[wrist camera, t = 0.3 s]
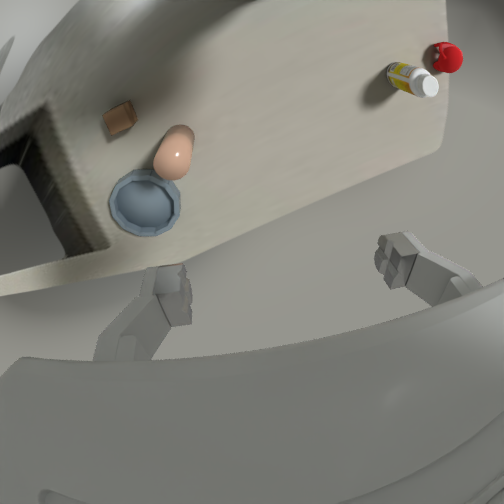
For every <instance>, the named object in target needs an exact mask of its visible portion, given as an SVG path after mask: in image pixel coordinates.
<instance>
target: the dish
mask: <svg viewBox="0 0 504 504" xmlns="http://www.w3.org/2000/svg"><path fill="white" fill-rule="evenodd" d="M109 203H110V208H111V212H112V216H113V218H114V219H115V220H116V221H117V223H118V224H119V225H120V226H121V227H122V228H123V229H124V230H126V231H129V232H131V233H133V234H135V235H138V236H139V235H140V236H158V235H160V234H162V233H164V232H166V231H168V230H170V229H171V228H172V227H173V225H174V224H175V222H176V221H177V219H178V217H179V215H180V209H181V204H180V192H179V190H178V189H177V187H176V186H175V184H174V183H173V181H172V180H166V179H164V178H162V177H160V176H159V175H158V174H157V173H156V171H155V170H152V169H143V170H133V171H131V172H130V173H128V174H126V175H125V176H123V177H122V178H120V179H119V180H118V182H117V184H116V186H115V188H114V190H113V193H112V195H111V197H110V200H109Z"/></svg>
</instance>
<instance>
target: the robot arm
mask: <svg viewBox="0 0 504 504" xmlns="http://www.w3.org/2000/svg"><path fill="white" fill-rule="evenodd" d="M378 245H379V248H378V249H377V250H376V252H375V257H374V260H375V265H376V268H377V270H378V271H379V272H380V273H381V274H383V275H384V281H385V282H386V284H387V285H388V287H389V288H390V289H395V288H400V287H404V286H406V288H407V289H409V290H410V291H412V292H413V293H414V294H416V295H417V296H418V297H420V298H421V299H423V300H424V301H425V302H427V303H428V304H430V305H431V306H432V307H431V308H428V309H425V310H422V311H419V312H416V313H413V314H409V315H406V316H404V317H400V318H396V319H393V320H390V321H386V322H383V323H380V324H376V325H372V326H369V327H365V328H361V329H357V330H353V331H349V332H345V333H341V334H337V335H332V336H328V337H323V338H319V339H314V340H310V341H305V342H300V343H294V344H288V345H283V346H277V347H272V348H265V349H259V350H252V351H245V352H238V353H230V354H222V355H213V356H203V357H193V358H181V359H166V360H151V358H152V357H153V355H154V354H155V352H156V351H157V349H158V347H159V346H160V344H161V343H162V341H163V340H164V338H165V337H166V335H167V334H168V332H169V331H170V329H171V327H174V326H182V325H190V324H192V309H191V307H190V305H191V303H192V289H191V284H190V281H189V279H188V278H186V272H187V271H186V268H185V265H184V264H183V263H180V264H172V265H163V266H156V267H148V268H147V269H146V270H145V274H144V278H143V282H142V286H141V290H140V295H139V297H136V298H134V300H132V302H131V303H130V304H129V305H128V306H127V307H126V308H125V309H124V310H123V311H122V312H121V313H120V314H119V315H118V316H117V317H116V318H115V319H114V320H113V321H112V322H111V323H110V324H109V325H108V327H107V328H106V329H105V330H104V331H103V332H102V333H101V334H100V335H99V337H98V341H97V345H96V349H95V353H94V357H93V361H74V360H55V359H42V358H34V357H21V358H19V359H18V360H17V361H15V362H14V363H13V364H12V365H11V366H10V367H9V368H8V369H7V371H5V372H4V374H3V375H2V376H1V377H0V504H504V278H503V279H500V280H498V281H496V282H494V283H491V284H489V285H487V286H485V287H483V286H482V285H481V284H480V282H479V281H478V280H477V279H476V278H475V276H474V275H473V274H472V273H471V271H469V270H467V269H465V268H463V267H461V266H460V265H458V264H456V263H454V262H452V261H450V260H448V259H446V258H444V257H442V256H440V255H438V254H436V253H434V252H432V251H428V250H427V249H426V248H425V247H424V246H423V245H422V244H421V243H420V241H419V240H418V239H417V238H416V237H415V236H414V235H413V234H412V233H411V232H410V231H403V232H399V233H393V234H386V235H381V236H380V237H379V239H378Z"/></svg>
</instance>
